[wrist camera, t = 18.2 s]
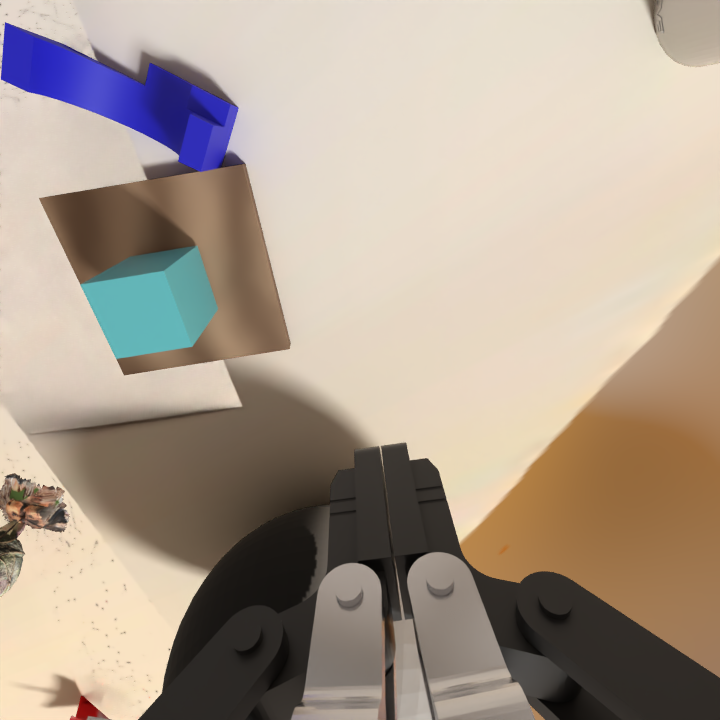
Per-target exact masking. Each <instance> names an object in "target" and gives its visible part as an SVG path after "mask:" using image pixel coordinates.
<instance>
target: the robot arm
mask: <svg viewBox="0 0 720 720" xmlns="http://www.w3.org/2000/svg"><path fill="white" fill-rule="evenodd" d="M654 25H655V31H656V35H657V38H658V40H659V43H660V45H661V47H662V48H663V50H664V51H665V53H666V54H667V55H668V56H669V57H670V58H671V59H673V60H674V61H675V62H677V63H679V64H682V65H684V66H689V67H702V66H708V65H713V64H718V63H720V0H655V3H654ZM381 448H382V457H383V465H384V472H383V466H382V460H381V454H380V448H379V446H378V447H371V448H363V449H356V450H354V460H355V468H353V469H345V470H338V472H337V474H336V476H335V478H334V480H333V482H332V483H331V489H330V517H329V538H328V562H327V572H326V575H325V578H324V579H323V581H322V582H321V584H320V587H319V588H318V589H317V591H316V592H315V593H314V594H313V595H312V596H311V597H309V598H308V599H307V600H305V601H303V602H302V603H300V604H298V605H296V606H293V607H291V608H289V609H287V610H285V611H283V612H281V613H279V614H277V613H276V612H275V611H274V610H273V609H271V608H270V607H267V606H262V605H256V606H250V607H247V608H245V609H243V610H241V611H239V612H237V613H236V614H235V615H233V616H232V617H231V618H230V619H229V620H228V621H227V622H226V623H225V624H224V625H223V627H222V628H221V629H220V630H219V631H218V632H217V633H216V634H215V635H214V636H213V638H212V639H211V640H210V641H209V642H208V643H207V644H206V645H205V646H204V648H203V649H202V650H201V651H200V652H199V653H198V654H197V655H196V656H195V657H194V659H193V660H192V661H191V662H190V663H189V664H188V665H187V666H186V667H185V668H184V670H183V671H182V672H181V673H180V674H179V675H178V676H177V677H176V678H175V680H174V681H173V682H172V683H171V684H170V685H169V686H168V687H167V688H166V689H165V691H164V692H163V693H162V694H161V695H160V696H159V697H158V698H157V699H156V701H155V702H154V703H153V704H152V705H151V706H150V707H149V708H148V709H147V710H146V712H145V713H144V714H143V715H142V716H141V717H140V718H139V719H138V720H397V693H396V660H395V653H396V643H395V633H394V623H393V621H401V620H402V615H401V606H400V598H399V590H398V581H399V587H400V593H401V599H402V605H403V611H404V617H405V620H407V619H413V625H414V632H415V638H416V644H417V651H418V658H419V662H420V667H421V672H422V676H423V681H424V686H425V691H426V695H427V700H428V705H429V710H430V714H431V719H432V720H535V718H534V715H533V713H532V710H531V708H530V705H531V706H532V707H533V708H534V709H535V710H536V711H537V712H538V713H539V714H540V715H541V716H542V717H543V718H544V719H545V720H720V678H719V677H718V676H716V675H715V674H713V673H711V672H710V671H709V670H707V669H706V668H704V667H703V666H701V665H699V664H698V663H696V662H695V661H693V660H692V659H690V658H689V657H687V656H686V655H684V654H683V653H681V652H680V651H678V650H677V649H675V648H674V647H672V646H671V645H669V644H668V643H666V642H665V641H663V640H662V639H660V638H658V637H657V636H655V635H654V634H652V633H651V632H650V631H648V630H646V629H645V628H643V627H642V626H640V625H639V624H637V623H636V622H634V621H633V620H631V619H630V618H628V617H627V616H625V615H624V614H622V613H621V612H619V611H618V610H616V609H615V608H613V607H612V606H610V605H609V604H607V603H606V602H604V601H603V600H601V599H600V598H598V597H597V596H595V595H594V594H592V593H590V592H589V591H587V590H586V589H584V588H583V587H581V586H580V585H578V584H577V583H575V582H574V581H572V580H570V579H569V578H567V577H565V576H563V575H560V574H557V573H554V572H536V573H533V574H530V575H528V576H527V577H525V578H524V579H523V580H522V581H521V583H515V582H510V581H505V580H500V579H495V578H492V577H489V576H486V575H484V574H482V573H480V572H479V571H477V570H476V569H475V568H473V567H472V566H471V565H470V564H469V563H468V561H467V560H466V559H465V557H464V556H463V554H462V551H461V549H460V545H459V541H458V538H457V534H456V531H455V527H454V524H453V520H452V517H451V513H450V510H449V506H448V503H447V500H446V496H445V492H444V489H443V485H442V482H441V478H440V474H439V471H438V469H437V468H436V467H435V466H434V465H433V464H432V463H431V462H430V461H429V460H428V459H427V458H425V459H418V460H411V461H410V460H409V455H408V450H407V445H406V443H399V444H391V445H384V446H381ZM384 474H385V479H384ZM385 482H386V485H385ZM395 563H396V565H395ZM396 569H397V573H396ZM397 575H398V581H397ZM529 704H530V705H529Z"/></svg>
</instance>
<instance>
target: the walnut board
mask: <svg viewBox="0 0 720 720" xmlns="http://www.w3.org/2000/svg"><path fill="white" fill-rule="evenodd" d="M39 199H40V201H41V204H42V206H43V208H44V210H45V212H46V214H47V216H48V218H49V220H50V222H51V224H52V226H53V228H54V231H55V233H56V235H57V237H58V239H59V241H60V243H61V245H62V247H63V249H64V251H65V253H66V255H67V258H68V260H69V262H70V264H71V266H72V268H73V270H74V272H75V274H76V276H77V278H78V280H79V282H80V284H82V283H84V282H86V281H88V280H89V279H91V278H93V277H95V276H97V275H98V274H100V273H102V272H104V271H105V270H107V269H109V268H111V267H113V266H114V265H116V264H118V263H120V262H121V261H123V260H125V259H127V258H129V257H131V256H137V255H143V254H149V253H155V252H161V251H167V250H173V249H179V248H185V247H191V246H198V249H199V252H200V255H201V258H202V261H203V264H204V267H205V271H206V274H207V277H208V280H209V283H210V286H211V289H212V292H213V295H214V298H215V301H216V304H217V307H218V310H217V312H216V313H215V315H214V316H213V318H212V319H211V320H210V322H209V323H208V325H207V326H206V328H205V329H204V331H203V332H202V334H201V335H200V336H199V338H198V339H197V341H196V342H195V344H194V345H193V347H187V348H181V349H175V350H169V351H163V352H156V353H150V354H144V355H138V356H132V357H125V358H119V359H117V361H118V363H119V365H120V368H121V370H122V372H123V374H124V375H129V374H135V373H142V372H148V371H154V370H161V369H167V368H173V367H179V366H186V365H192V364H198V363H205V362H211V361H217V360H223V359H230V358H236V357H242V356H249V355H255V354H261V353H267V352H274V351H280V350H286V349H290V344H291V343H290V339H289V335H288V331H287V327H286V323H285V319H284V315H283V311H282V308H281V304H280V300H279V296H278V292H277V288H276V284H275V280H274V276H273V272H272V268H271V264H270V260H269V256H268V252H267V248H266V244H265V240H264V236H263V232H262V228H261V224H260V220H259V216H258V212H257V208H256V204H255V200H254V196H253V192H252V188H251V184H250V180H249V176H248V172H247V168H246V164H241V165H235V166H229V167H223V168H217V169H213V170H208V171H203V172H200V171H199V172H193V173H187V174H181V175H175V176H169V177H163V178H157V179H151V180H145V181H139V182H133V183H127V184H121V185H115V186H109V187H103V188H97V189H91V190H85V191H79V192H73V193H67V194H61V195H55V196H49V197H44V198H39Z"/></svg>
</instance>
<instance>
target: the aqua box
mask: <svg viewBox="0 0 720 720" xmlns="http://www.w3.org/2000/svg"><path fill="white" fill-rule="evenodd" d="M81 287H82V289H83V291H84V293H85V295H86V297H87V299H88V301H89V304H90V306H91V308H92V310H93V312H94V314H95V316H96V318H97V320H98V322H99V324H100V326H101V328H102V330H103V333H104V335H105V337H106V339H107V341H108V343H109V345H110V347H111V349H112V351H113V353H114V355H115V357H116V359H119V358H125V357H132V356H138V355H144V354H150V353H156V352H163V351H169V350H175V349H181V348H187V347H193V345H194V344H195V342H196V341H197V339H198V338H199V336H200V335H201V334H202V332H203V331H204V329H205V328H206V326H207V325H208V323H209V322H210V320H211V319H212V318H213V316H214V315H215V313H216V312H217V310H218V307H217V304H216V301H215V298H214V295H213V292H212V289H211V286H210V283H209V280H208V277H207V274H206V271H205V267H204V264H203V261H202V258H201V255H200V252H199V249H198V246H191V247H185V248H179V249H173V250H167V251H161V252H155V253H149V254H143V255H137V256H131V257H129V258H127V259H125V260H123V261H121V262H120V263H118V264H116V265H114V266H113V267H111V268H109V269H107V270H105V271H104V272H102V273H100V274H98V275H97V276H95V277H93V278H91V279H89V280H88V281H86V282H84V283H82V284H81Z"/></svg>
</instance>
